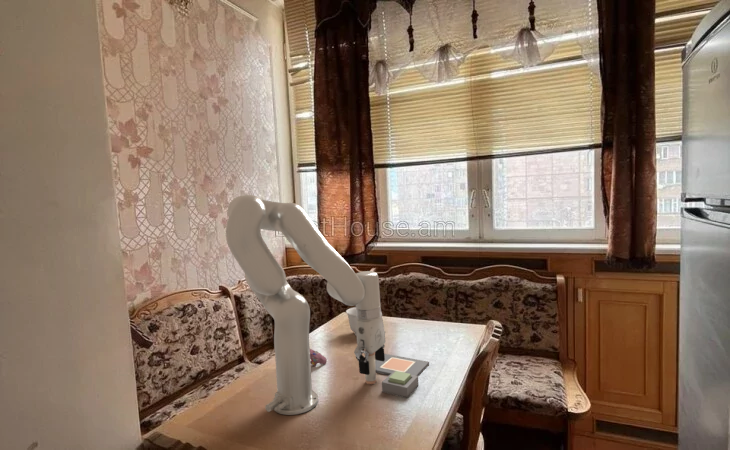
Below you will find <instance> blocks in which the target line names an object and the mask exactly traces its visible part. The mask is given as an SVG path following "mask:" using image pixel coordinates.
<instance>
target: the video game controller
mask: <svg viewBox="0 0 730 450" xmlns="http://www.w3.org/2000/svg"><path fill="white" fill-rule="evenodd" d="M310 363H311V366H315V367H316V366H317V364H320V365H325V364H327V357H326V356H324V355H323V354H321V352H318V351H316V350H314V349H312V348H310Z"/></svg>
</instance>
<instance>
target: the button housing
mask: <svg viewBox="0 0 730 450" xmlns="http://www.w3.org/2000/svg"><path fill="white" fill-rule="evenodd" d="M394 372H396V371H393V372H392V373H391V374H390V375H387V377H385V378H384V379H383V381H381V392H382V393H385V394H388V395H391V396H397V397H401V398H406V399H409V397H410V396H411V395H412V394H413V393H414V391H415V390H417V388H418V387H419V376H415V375H411V379H410V380H409V381H408V382H407V383H406V385H402V384H398V383H393V382H389V377H390V376H391V375H392V374H393V373H394Z"/></svg>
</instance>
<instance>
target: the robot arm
mask: <svg viewBox="0 0 730 450" xmlns="http://www.w3.org/2000/svg"><path fill="white" fill-rule="evenodd" d="M227 216H228V219H227V222H226V227H225V228H226V229H225V238H226V244H227V246H228V249H229V251H230V253H231V254H232V256H233V258H234V259H235V261H236V262H237V263H238V266H239V267H240V268H241V270H242V271H243V273H244V278H245V279H244V280H245V282H246V284H247V285H248V286H249V288H250V289H251V291H252V292H253V293H254V295H255V296H256V298H257V299H258V301H260V303H261V305H262V306H263V307H264V309H265V310H266V312H268V314H269V315H270V316H271V318H273V320H274V334H273V344H274V345H273V347H274V355H275V356H274V357H275V358H274V359H275V374H276V375H275V376H276V389H277V391H276V392H275V393H274V398H272V401H270V402H269V403H266V404H265V411H266V412H267V413H270V412H272V411H274V412H275V413H278V414H280V415H284V416H285V415H286V416H294V415H299V414H304V413H307V412H308V411H311V410H312V409H313V408H315V407H316V405H317V404H318V403H319V395H318V394H317V392H316V391H313V387H312V386H313V385H312V384H313V383H312V364H311V363H310V362H311V359H310V349H311V348H310V347H311V346H310V320H311V308H310V305H309V303H308V301H307V299H306V298H305V297H304V296H303V295H302V294H300V293H299V292H298V291H296V290H294V289H293V287H291V285H290V284H289V283H288V281H287V276H286V272H285V270H284V268H283V266H282V265H281V264H280V262H278V260H277V259H276V257H275V256H274V254H273V253H272V252H271V250H270V249H269V246H268V245H267V244H266V242H265V241H264V239H263V237H262V233H261V232H262V231H261V230H264V231H272V232H280V233H281V234H282V235H283V236H284V237H285V238H286V240H287V241H288V242H289V243H290V245H291V246H292V247H293V249H294V250H295V251H296V254H298V255H299V257H300V258H301V259H302V261H304V263H305V264H306V265H308V267H310V268H312V269H313V270H314V271H316V273H318V274H319V275H320V276H321V277H323V278H324V279H325V280H326V281H327V282H326V283H327V284H326V291H327V294H328V295H329V296H330V297H331V298H333V299H335V300H337V301H339V302H341V303H342V304H344V305H345V306H349V307H352V306H353V307H356V316H357V319H358V320H357V336H356V347H355V349H354V351H353V352H354V353H353V354H354V355H355V358H356V360H357V362H358V371H359V374H362V375H365V374H366V375H369V374H370V372H369V361H367V360H368V356H369V353H370V354H373V353H374V352H375V360H378V361H384V360H385V356H384V354H385V347H386V345H385V343H386V331H385V325H384V319H383V314H382V315H381V312H382V309H381V307H382V305H381V295H380V294H381V292H380V279H379V275H378V273H377V272H375V271H370V270H367V271H366V270H365V271H359V272H355V271H354V269H353V268H352V266H350V265H349V263H348V262H347V261H346V260H345V259H344V257H342V256H341V255H340V254H339V252H338V251H336V249H335V248H334V247H333V246H332V245H331V244H330V242H328V240H327V239H326V238H325V237H324V235H323V233H321V231H320V230H319V229H318V227H317V226H316V224H315V223H314V222H313V220H312V219H311V217H310V216H309V214H308V213H307V212H306V211H305V209H304V208H302V206H301V205H299V204H297V203H296V202H295V203H293V202H277V201H272V200H265V199H261V198H259V197H258V196H255V195H252V194H245V195H240V196H239V195H238V196H236V197H235V198H233V199H232V200H231V201H230V202H229V203H228V206H227ZM365 349H366V351H364V350H365ZM364 354H365V355H364Z"/></svg>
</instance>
